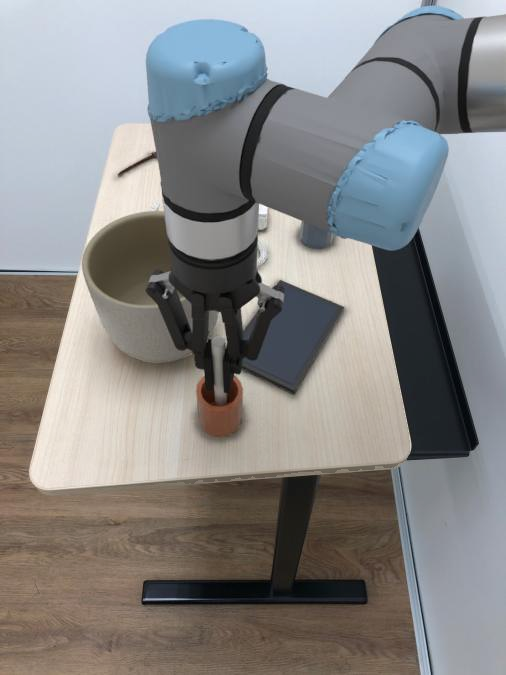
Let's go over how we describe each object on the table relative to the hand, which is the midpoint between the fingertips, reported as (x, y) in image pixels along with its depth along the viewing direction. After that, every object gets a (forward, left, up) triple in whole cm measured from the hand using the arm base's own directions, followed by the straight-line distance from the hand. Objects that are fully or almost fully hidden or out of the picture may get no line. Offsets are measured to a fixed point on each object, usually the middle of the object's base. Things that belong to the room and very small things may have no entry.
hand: (220, 382), depth 63 cm
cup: (0, 0, -9) cm, 9 cm away
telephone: (+22, -32, -9) cm, 40 cm away
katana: (+43, -39, -9) cm, 59 cm away
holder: (+4, -38, -9) cm, 39 cm away
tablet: (-1, -16, -9) cm, 19 cm away
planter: (+15, -8, -9) cm, 19 cm away
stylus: (0, 0, -8) cm, 8 cm away
